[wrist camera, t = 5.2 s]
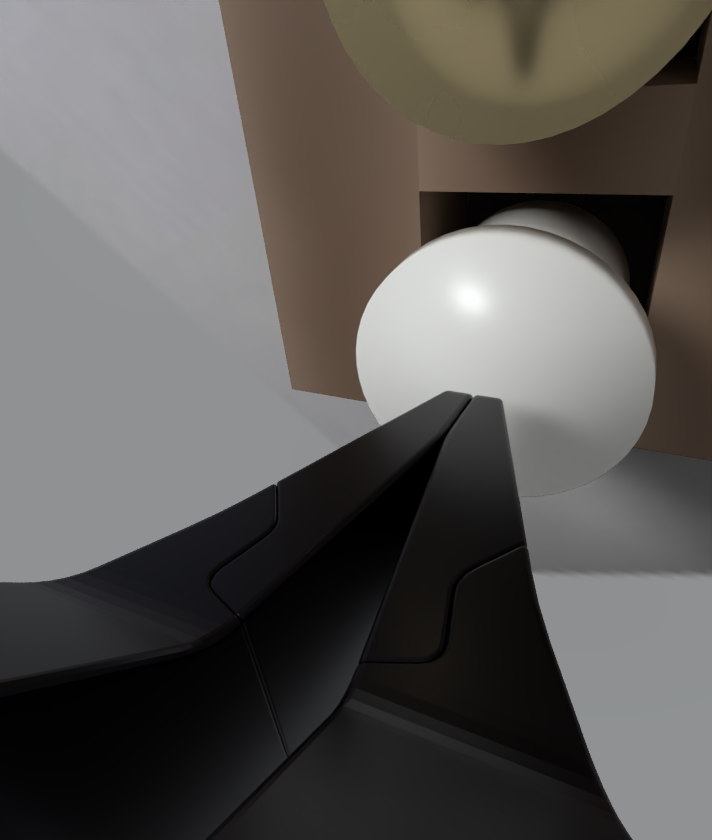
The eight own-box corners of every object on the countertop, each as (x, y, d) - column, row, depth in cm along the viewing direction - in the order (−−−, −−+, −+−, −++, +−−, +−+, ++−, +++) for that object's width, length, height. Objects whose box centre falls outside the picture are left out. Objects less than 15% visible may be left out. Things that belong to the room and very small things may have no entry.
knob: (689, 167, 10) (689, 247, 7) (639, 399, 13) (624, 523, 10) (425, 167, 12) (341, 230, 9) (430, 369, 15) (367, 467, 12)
